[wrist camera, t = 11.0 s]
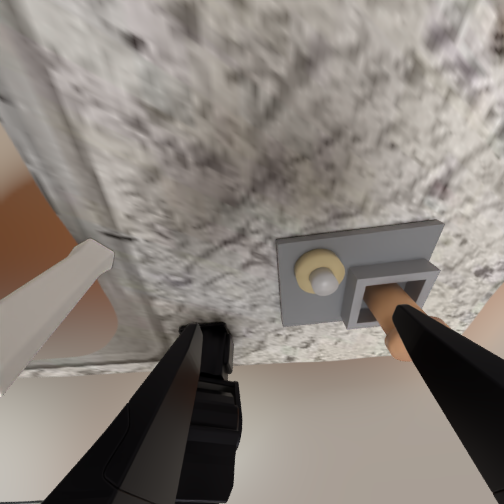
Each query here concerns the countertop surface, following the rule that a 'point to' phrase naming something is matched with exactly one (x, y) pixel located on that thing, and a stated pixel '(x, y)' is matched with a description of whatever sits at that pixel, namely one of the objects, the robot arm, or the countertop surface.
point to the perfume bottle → (45, 306)
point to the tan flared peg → (390, 314)
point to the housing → (353, 271)
